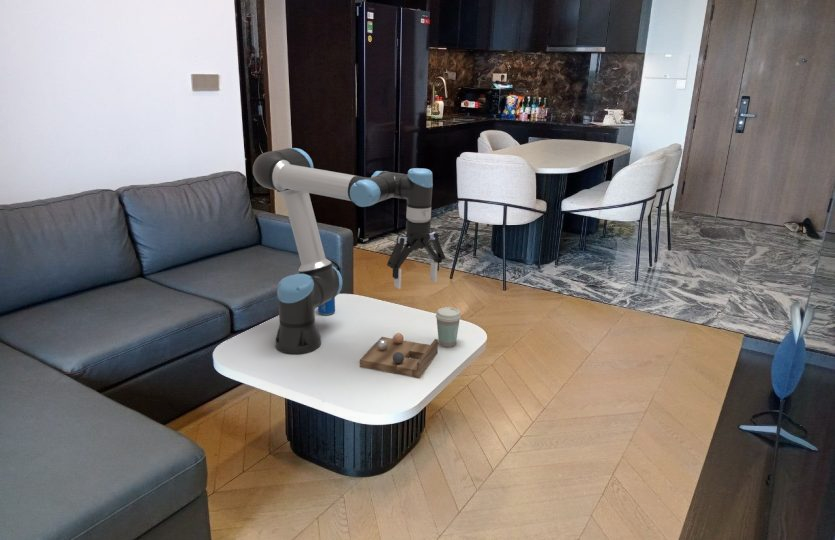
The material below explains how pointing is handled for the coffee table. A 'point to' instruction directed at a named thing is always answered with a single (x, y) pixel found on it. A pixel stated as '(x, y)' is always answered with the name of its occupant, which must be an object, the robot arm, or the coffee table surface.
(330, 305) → the beverage can
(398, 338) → the clay ball
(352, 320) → the coffee table surface
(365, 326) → the coffee table surface
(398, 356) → the black ball
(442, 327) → the coffee cup
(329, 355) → the coffee table surface
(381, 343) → the steel ball
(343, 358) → the coffee table surface
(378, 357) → the wooden board
